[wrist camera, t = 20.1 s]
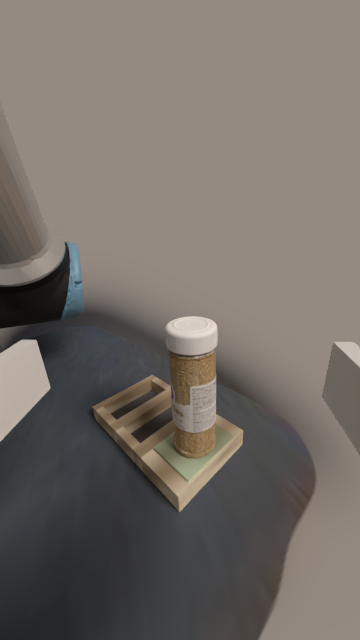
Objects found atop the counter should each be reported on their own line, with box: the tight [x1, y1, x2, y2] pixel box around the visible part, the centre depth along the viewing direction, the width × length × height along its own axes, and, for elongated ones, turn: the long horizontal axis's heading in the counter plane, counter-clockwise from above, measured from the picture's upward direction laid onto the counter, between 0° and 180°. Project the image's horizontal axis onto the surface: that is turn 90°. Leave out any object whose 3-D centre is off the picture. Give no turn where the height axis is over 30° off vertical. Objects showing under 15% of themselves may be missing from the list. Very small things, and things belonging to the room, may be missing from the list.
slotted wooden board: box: [92, 375, 243, 512], centre depth 30 cm, size 16×10×2 cm, turn 44°
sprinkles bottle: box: [165, 316, 218, 458], centre depth 23 cm, size 5×5×14 cm
